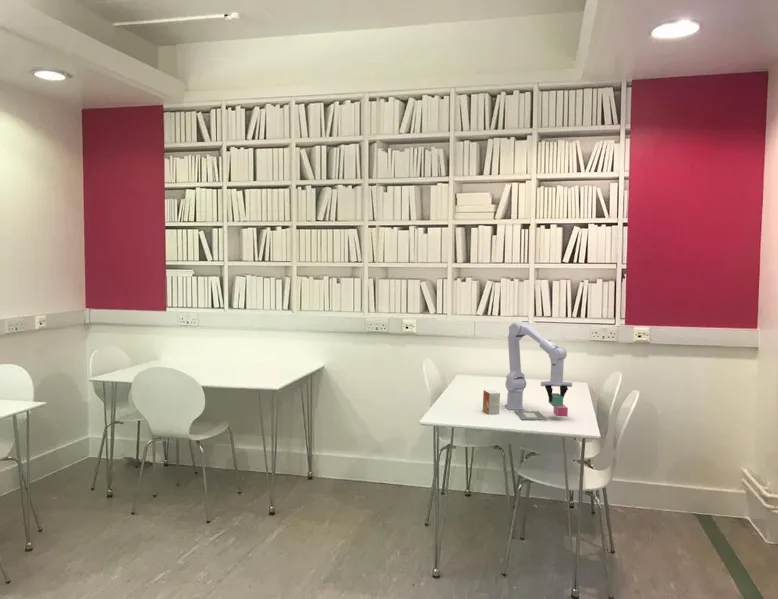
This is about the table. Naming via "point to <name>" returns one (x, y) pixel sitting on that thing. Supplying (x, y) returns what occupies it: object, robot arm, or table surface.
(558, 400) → the teal brick
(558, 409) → the raspberry brick
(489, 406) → the small box
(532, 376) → the table surface
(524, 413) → the baseplate
